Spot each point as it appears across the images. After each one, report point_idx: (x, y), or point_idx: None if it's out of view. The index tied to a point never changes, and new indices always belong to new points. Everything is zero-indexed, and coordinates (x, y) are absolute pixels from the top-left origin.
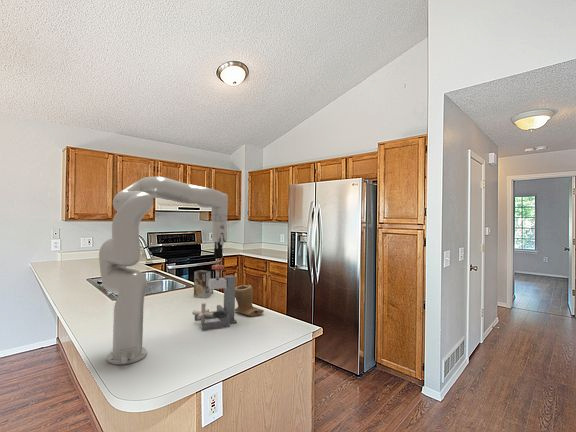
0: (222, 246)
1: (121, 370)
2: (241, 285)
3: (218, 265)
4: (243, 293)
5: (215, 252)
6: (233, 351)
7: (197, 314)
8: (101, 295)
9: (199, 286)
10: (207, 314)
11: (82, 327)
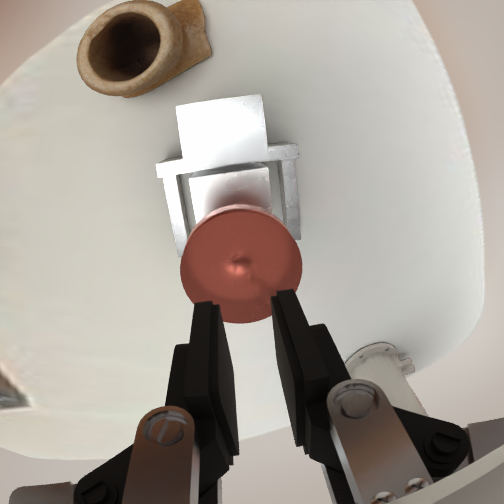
0: (393, 413)
1: None
2: (82, 52)
3: (228, 265)
4: (177, 51)
5: (234, 401)
6: (441, 180)
7: None
8: (7, 414)
9: None
10: None
11: None
